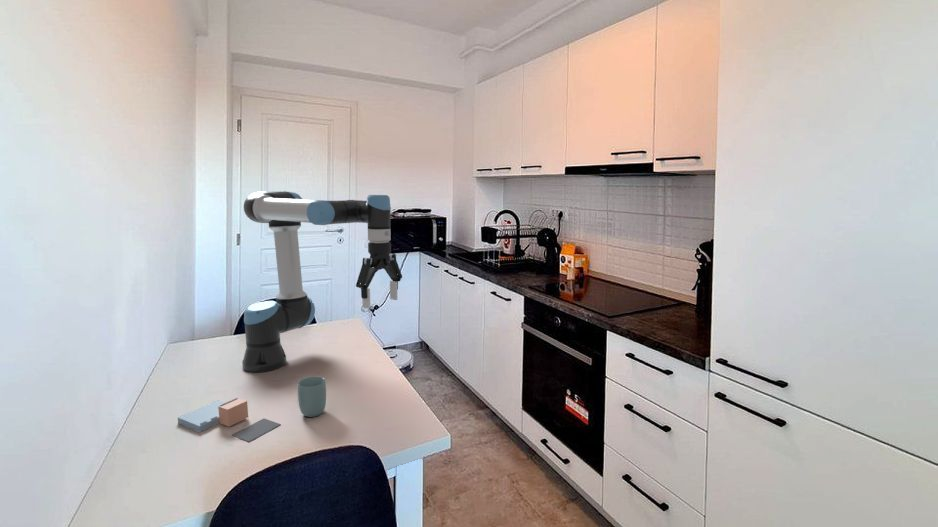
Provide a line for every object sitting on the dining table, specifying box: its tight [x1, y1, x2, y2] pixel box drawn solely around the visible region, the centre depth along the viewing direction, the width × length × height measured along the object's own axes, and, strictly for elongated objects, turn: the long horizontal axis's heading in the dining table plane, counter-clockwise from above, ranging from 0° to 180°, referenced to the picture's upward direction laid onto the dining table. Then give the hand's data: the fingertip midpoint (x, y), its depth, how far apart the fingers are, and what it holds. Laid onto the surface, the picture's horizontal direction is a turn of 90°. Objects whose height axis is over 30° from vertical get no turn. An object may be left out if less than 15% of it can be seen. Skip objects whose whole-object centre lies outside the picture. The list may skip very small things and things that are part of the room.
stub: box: [218, 397, 249, 427], centre depth 126 cm, size 4×6×5 cm, turn 153°
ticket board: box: [177, 400, 226, 433], centre depth 129 cm, size 10×12×2 cm
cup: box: [296, 375, 327, 418], centre depth 131 cm, size 8×8×10 cm
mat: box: [231, 418, 281, 443], centre depth 123 cm, size 7×10×1 cm
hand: (380, 303), depth 153 cm, fingers open, 13 cm apart
